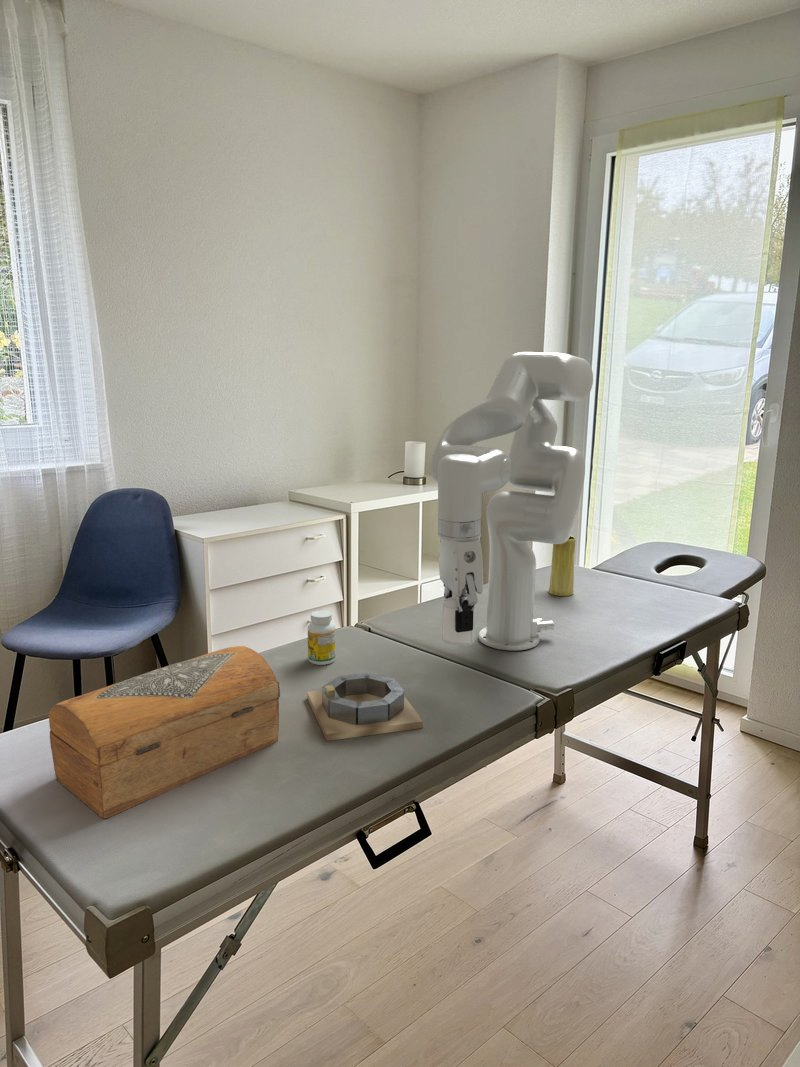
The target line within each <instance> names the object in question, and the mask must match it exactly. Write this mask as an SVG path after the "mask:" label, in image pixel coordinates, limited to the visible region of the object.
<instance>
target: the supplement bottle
mask: <svg viewBox="0 0 800 1067" xmlns="http://www.w3.org/2000/svg"><path fill="white" fill-rule="evenodd" d="M332 616H333V615H332V613H331V611H328V610H316V611H312V612H311V613H310V621H311V622H310V623H309V624H308V625H307V659H308V661H309V663H311V664H313V665H318V666H326V664H327V665H330V664H332V663H334V661H336V656H337V655H336V626H335V624H334V623H333V622H332V620H333V619H332V618H333V617H332Z"/></svg>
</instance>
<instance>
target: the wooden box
mask: <svg viewBox="0 0 800 1067" xmlns="http://www.w3.org/2000/svg"><path fill="white" fill-rule="evenodd" d="M280 689H281V688H280V681H279V680H278V679H277V677H276V675H275V673H274V671H273V669H272V668H271V666H270V664H269V663H268V662H267V660H266V659H265V658H264V657H263V656H262V655H261V654H259V653H258V652H257V651H255V650H253V649H252V648H249V647H247V646H245V645H237V646H236V645H235V646H231V647H226V648H221V649H218V650H215V651H211V652H208V653H206V654H202V655H199V656H196V657H194V658H191V659H190V658H189V659H187V660H183V661H180V662H176V663H172V664H169V665H166V666H164V667H160V668H156V669H153V670H151V671H147V672H145V673H141V674H139V675H136V676H133V677H130V678H128V679H125V680H122V681H120V682H117V683H116V682H115V683H113V684H111V685H108V686H105V687H102V688H99V689H95V690H92V691H90V692H87V693H84V694H82V695H78V696H75V697H72V698H69V699H66V700H63V701H60V702H57V703H56V704H54V705H53V706H51V708H50V710H49V713H48V723H49V730H50V731H49V741H50V748H51V755H52V760H53V761H52V762H53V767H54V769H53V770H54V774H55V775H54V776H55V779H56V781H57V783H59V784H60V785H61V786H62V787H64V788H65V789H66V790H67V791H69V793H71V794H72V795H74V796H75V797H76V798H78V799H79V801H81V802H82V803H83V804H84V805H85V806H87V807H88V808H89V809H90V810H92V811H93V812H95V813H96V814H97V815H98V816H99V817H100V818H102V819H109V818H110V817H113V816H115V815H118V814H120V813H122V812H125V811H126V810H129V809H131V808H133V807H136V806H138V805H140V804H141V803H145V802H147V801H149V800H150V799H153V798H156V797H158V796H160V795H163V794H164V793H166V792H168V791H171V790H174V789H175V788H178V787H179V786H182V785H184V784H186V783H189V782H192V781H194V780H196V779H198V778H200V777H202V776H205V775H207V774H210V772H213V771H215V770H217V769H219V768H222V767H224V766H226V765H229V764H231V763H233V762H236V761H238V760H240V759H242V758H244V757H247V756H249V755H251V754H253V753H255V752H258V751H260V750H261V749H264V748H266V747H268V746H271V745H273V744H275V743H277V742H278V741H279V730H280V729H279V726H280V724H279V723H280V709H279V708H280V702H279V701H280V697H281V690H280Z"/></svg>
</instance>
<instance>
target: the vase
mask: <svg viewBox="0 0 800 1067" xmlns="http://www.w3.org/2000/svg"><path fill="white" fill-rule="evenodd" d="M575 549H576V537H575V536H573V535H571V536H570V537H569V539H568V540H567V541H566V542H565V543H562V544H552V552H551V553H552V554H551V568H550V576H549V577H550V578H549V587H548V593H549V594H550V595H553V596H558V597H570V596H572V595H573V594H574V593H575V592H574V591H575V590H574V584H575V583H574V582H575V581H574V579H575V552H576V550H575Z"/></svg>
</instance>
